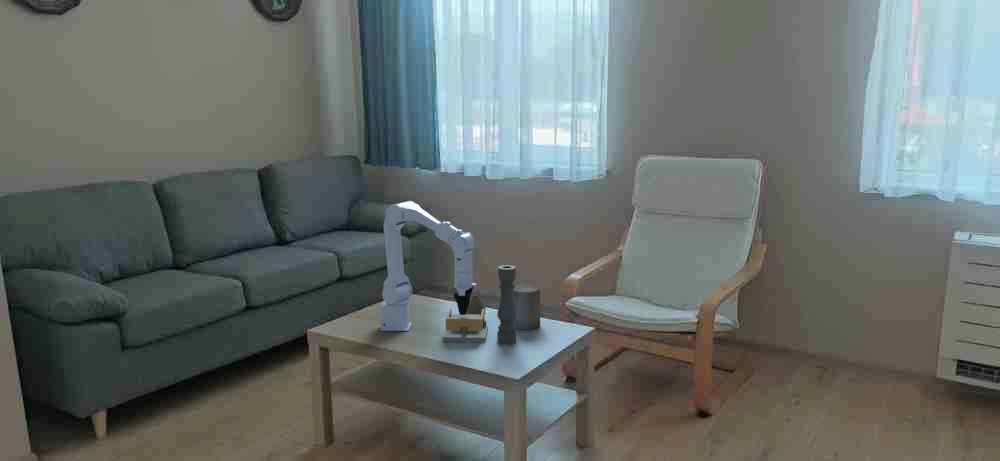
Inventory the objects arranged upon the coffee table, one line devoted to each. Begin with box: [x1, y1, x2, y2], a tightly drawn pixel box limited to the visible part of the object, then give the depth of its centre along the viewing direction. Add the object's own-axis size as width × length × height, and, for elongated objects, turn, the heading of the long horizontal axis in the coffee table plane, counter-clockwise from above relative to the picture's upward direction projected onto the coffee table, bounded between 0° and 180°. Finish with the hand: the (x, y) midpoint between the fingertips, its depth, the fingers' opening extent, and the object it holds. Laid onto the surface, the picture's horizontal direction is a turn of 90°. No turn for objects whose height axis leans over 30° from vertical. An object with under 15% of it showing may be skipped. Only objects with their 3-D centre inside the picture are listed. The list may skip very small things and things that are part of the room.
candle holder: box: [496, 264, 517, 346], centre depth 245 cm, size 6×6×25 cm
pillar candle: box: [513, 283, 541, 331], centre depth 262 cm, size 10×10×15 cm
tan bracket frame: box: [445, 308, 486, 331], centre depth 253 cm, size 11×12×4 cm
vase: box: [466, 295, 486, 317], centre depth 270 cm, size 7×7×9 cm
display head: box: [442, 313, 489, 343], centre depth 253 cm, size 13×14×6 cm
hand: (464, 311), depth 247 cm, fingers open, 7 cm apart
